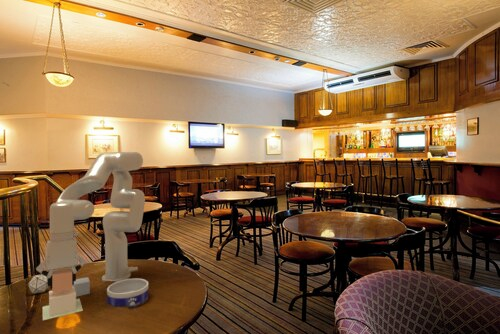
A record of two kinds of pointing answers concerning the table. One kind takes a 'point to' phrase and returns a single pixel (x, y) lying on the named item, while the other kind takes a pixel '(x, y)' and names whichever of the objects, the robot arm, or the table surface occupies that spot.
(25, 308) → the table surface
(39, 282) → the game die
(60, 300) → the base brick
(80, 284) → the slate brick
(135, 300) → the dog bowl
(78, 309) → the plate
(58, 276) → the terracotta brick
